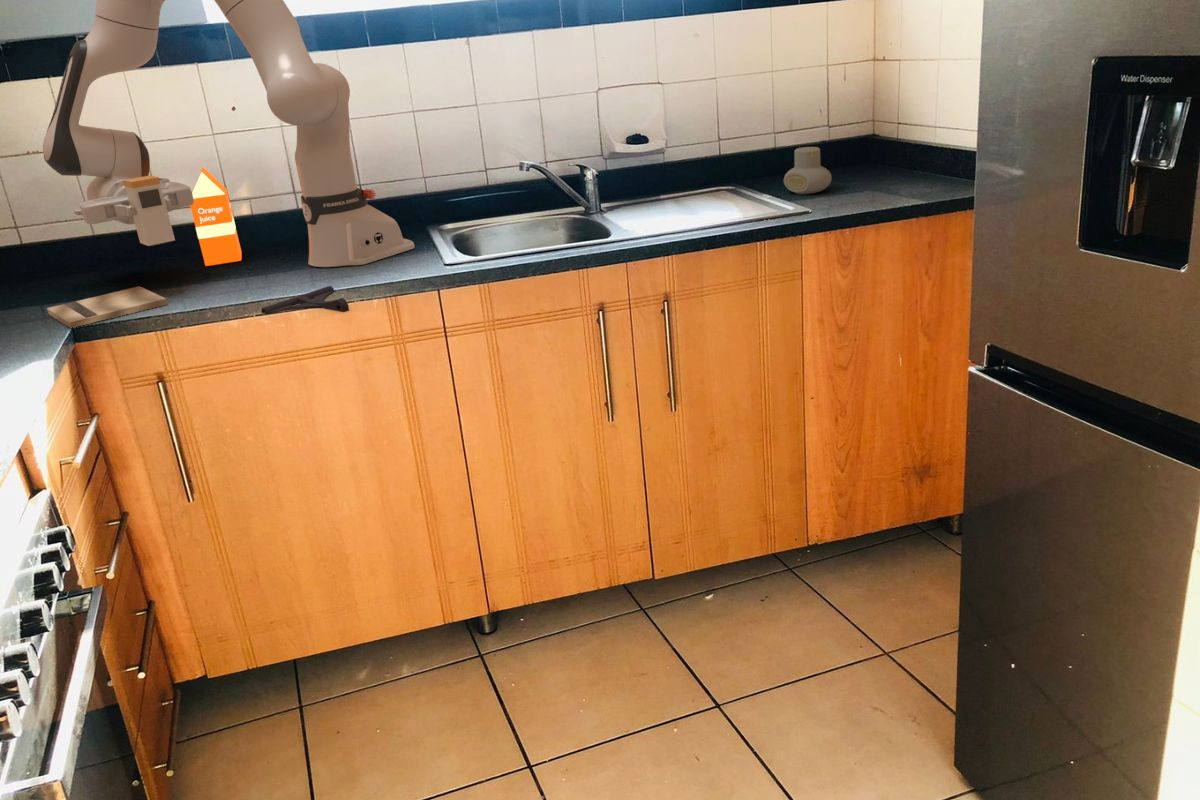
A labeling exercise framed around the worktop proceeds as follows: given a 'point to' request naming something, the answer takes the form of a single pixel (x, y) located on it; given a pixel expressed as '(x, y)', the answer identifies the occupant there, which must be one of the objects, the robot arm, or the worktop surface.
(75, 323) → the subfloor panel
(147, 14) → the robot arm
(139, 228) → the orange-capped beige carton
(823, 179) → the air freshener
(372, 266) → the worktop surface
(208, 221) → the orange juice
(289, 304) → the bracket
